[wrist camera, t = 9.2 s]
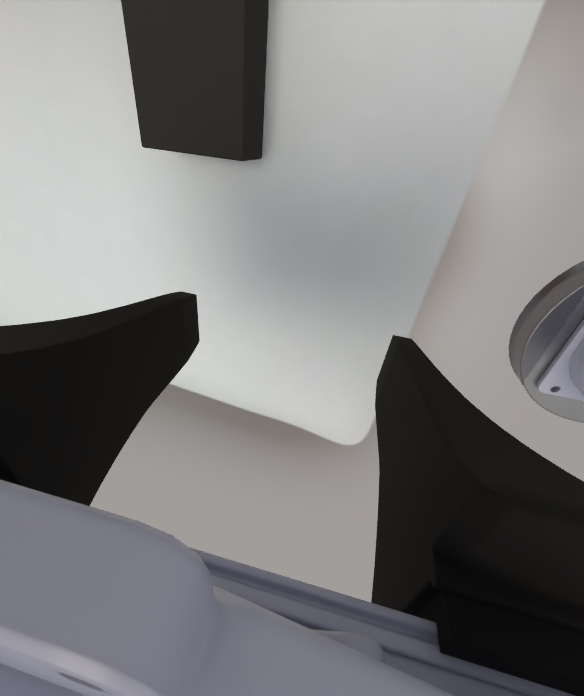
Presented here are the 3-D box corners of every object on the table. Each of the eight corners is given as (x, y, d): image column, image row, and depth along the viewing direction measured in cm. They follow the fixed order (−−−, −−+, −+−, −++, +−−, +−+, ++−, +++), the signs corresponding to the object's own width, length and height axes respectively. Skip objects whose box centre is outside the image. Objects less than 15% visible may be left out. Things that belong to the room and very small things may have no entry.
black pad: (274, -127, 11) (248, -204, 9) (262, 159, 16) (243, 161, 14) (148, -131, 12) (91, -203, 9) (174, 147, 17) (141, 147, 14)
